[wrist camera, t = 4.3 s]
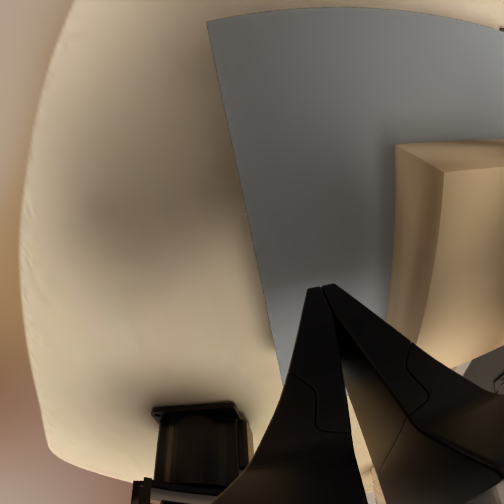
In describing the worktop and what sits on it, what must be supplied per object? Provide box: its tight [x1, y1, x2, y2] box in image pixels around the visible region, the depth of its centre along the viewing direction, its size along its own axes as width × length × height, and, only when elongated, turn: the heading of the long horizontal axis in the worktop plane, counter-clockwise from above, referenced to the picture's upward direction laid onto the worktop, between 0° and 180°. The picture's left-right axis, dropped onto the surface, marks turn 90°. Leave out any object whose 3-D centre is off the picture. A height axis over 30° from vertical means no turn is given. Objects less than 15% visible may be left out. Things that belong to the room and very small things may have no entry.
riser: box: [206, 7, 504, 395], centre depth 12 cm, size 14×16×4 cm
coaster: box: [386, 140, 504, 369], centre depth 9 cm, size 8×8×2 cm
